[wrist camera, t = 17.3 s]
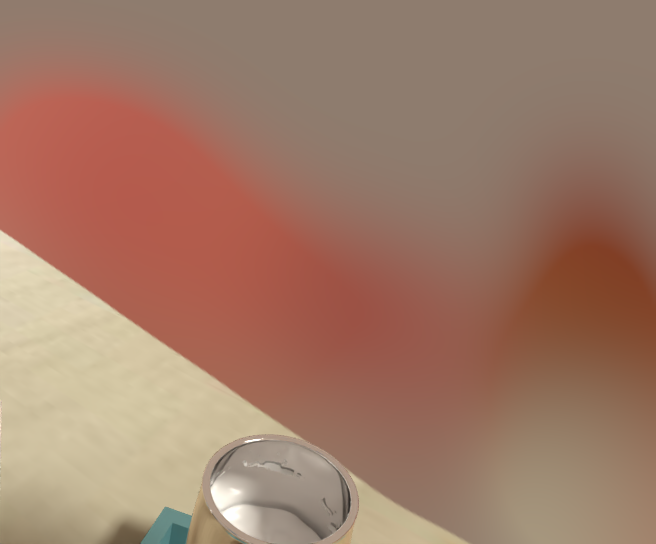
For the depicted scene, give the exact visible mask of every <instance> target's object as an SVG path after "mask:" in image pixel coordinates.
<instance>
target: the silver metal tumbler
mask: <svg viewBox="0 0 656 544" xmlns="http://www.w3.org/2000/svg"><path fill="white" fill-rule="evenodd" d="M358 509H359V498H358V492H357V489H356V486H355V484H354V482H353V480H352V478H351V476H350V475H349V473H348V472H347V470H346V469H345V468H344V467H343V466H342V464H341V463H340V462H338V461H337V460H336V459H335V458H334V457H333V456H331V455H330V454H329V453H327V452H326V451H324V450H322V449H321V448H319V447H317V446H315V445H313V444H311V443H308V442H306V441H303V440H300V439H297V438H293V437H288V436H282V435H254V436H249V437H244V438H241V439H238V440H235V441H233V442H231V443H229V444H227V445H225V446H224V447H222V448H221V449H220V450H219V451H217V452H216V453H215V454H214V455H213V456H212V458H211V459H210V460H209V462H208V464H207V465H206V467H205V470H204V473H203V477H202V484H201V487H200V491H199V494H198V497H197V500H196V504H195V507H194V510H193V514H192V518H191V521H190V525H189V529H188V534H187V538H186V543H185V544H350V543H351V538H352V533H353V528H354V523H355V520H356V517H357V514H358Z"/></svg>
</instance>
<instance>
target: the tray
mask: <svg viewBox="0 0 656 544" xmlns="http://www.w3.org/2000/svg"><path fill="white" fill-rule="evenodd" d="M191 518H192V516H190V515H188V514H185V513H182V512H179V511H176V510H174V509H171V508H168V507H165V508H164V509H163V511H162V512H161V514H160V515H159V517H158V518H157V520H156V521H155V523H154V524H153V526H152V527H151V529H150V530H149V531H148V533H147V534H146V536H145V537H144V539H143V540H142V542H141V543H140V544H185V543H186V538H187V534H188V529H189V525H190V521H191Z"/></svg>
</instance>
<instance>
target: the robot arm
mask: <svg viewBox="0 0 656 544" xmlns="http://www.w3.org/2000/svg"><path fill="white" fill-rule="evenodd" d="M0 457H1V400H0Z"/></svg>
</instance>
